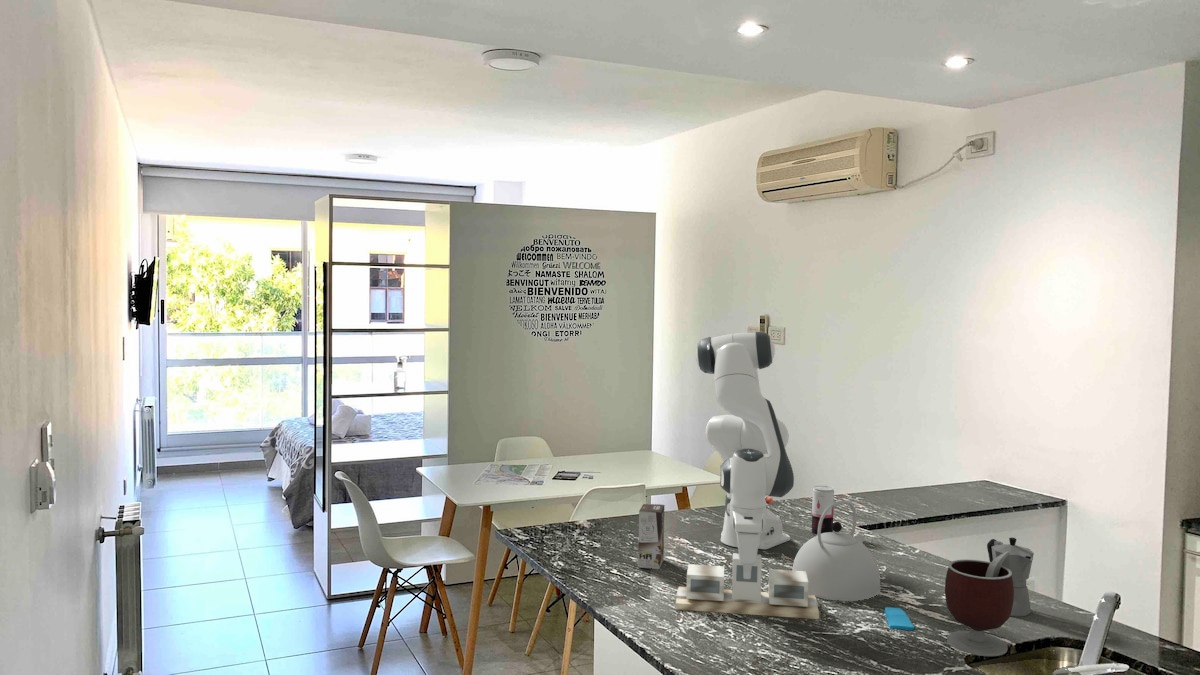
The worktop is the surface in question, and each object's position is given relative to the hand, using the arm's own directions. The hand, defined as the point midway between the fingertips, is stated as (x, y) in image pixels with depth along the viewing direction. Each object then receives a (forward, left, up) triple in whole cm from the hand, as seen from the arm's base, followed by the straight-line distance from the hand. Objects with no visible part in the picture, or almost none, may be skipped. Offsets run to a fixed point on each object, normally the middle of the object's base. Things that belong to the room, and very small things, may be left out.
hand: (746, 571), depth 213 cm
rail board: (0, 0, -8) cm, 8 cm away
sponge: (-23, +27, -9) cm, 37 cm away
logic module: (0, 0, -6) cm, 6 cm away
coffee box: (-1, -38, -9) cm, 39 cm away
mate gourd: (-26, +46, -9) cm, 54 cm away
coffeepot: (-52, +38, -9) cm, 65 cm away
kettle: (-31, +3, -9) cm, 32 cm away
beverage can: (-65, -30, -9) cm, 72 cm away
